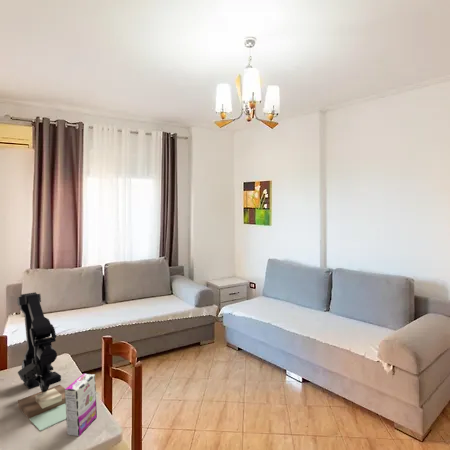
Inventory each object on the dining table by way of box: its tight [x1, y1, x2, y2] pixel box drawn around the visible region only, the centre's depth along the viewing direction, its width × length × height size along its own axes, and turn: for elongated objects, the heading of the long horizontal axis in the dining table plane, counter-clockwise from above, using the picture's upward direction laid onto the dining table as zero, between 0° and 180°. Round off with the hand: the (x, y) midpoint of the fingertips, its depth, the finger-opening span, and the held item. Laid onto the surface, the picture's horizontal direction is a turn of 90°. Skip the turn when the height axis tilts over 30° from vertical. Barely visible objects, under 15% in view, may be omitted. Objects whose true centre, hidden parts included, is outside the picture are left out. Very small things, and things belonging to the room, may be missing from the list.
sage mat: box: [29, 403, 66, 432], centre depth 131 cm, size 10×16×1 cm, turn 138°
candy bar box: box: [65, 373, 98, 437], centre depth 124 cm, size 11×5×16 cm, turn 168°
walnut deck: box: [17, 384, 66, 419], centre depth 138 cm, size 12×16×2 cm
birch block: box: [35, 388, 62, 409], centre depth 135 cm, size 7×7×2 cm
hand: (44, 393), depth 138 cm, fingers closed
